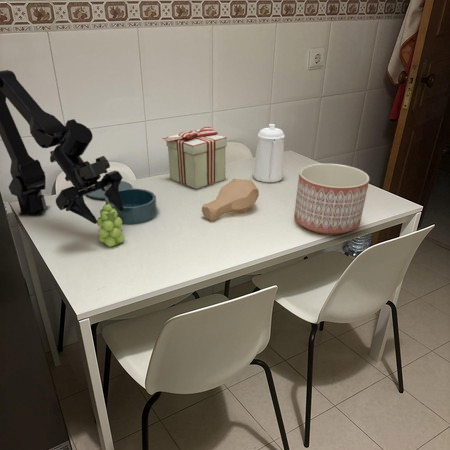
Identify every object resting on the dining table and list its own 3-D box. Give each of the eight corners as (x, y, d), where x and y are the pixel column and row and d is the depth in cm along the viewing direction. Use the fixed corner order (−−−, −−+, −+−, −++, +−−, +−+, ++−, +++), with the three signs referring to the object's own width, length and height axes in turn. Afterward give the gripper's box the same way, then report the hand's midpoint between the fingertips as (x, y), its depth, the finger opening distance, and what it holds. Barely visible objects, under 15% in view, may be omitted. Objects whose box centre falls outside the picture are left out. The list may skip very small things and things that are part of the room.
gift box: (192, 167, 171) (190, 120, 161) (228, 179, 161) (229, 129, 151) (158, 178, 160) (155, 128, 150) (195, 192, 151) (194, 140, 141)
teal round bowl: (103, 224, 130) (101, 207, 127) (112, 203, 142) (110, 188, 139) (154, 224, 130) (153, 207, 127) (158, 203, 142) (157, 188, 139)
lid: (80, 200, 143) (77, 184, 140) (90, 182, 156) (87, 167, 153) (129, 200, 144) (127, 184, 141) (135, 183, 156) (133, 168, 153)
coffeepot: (254, 191, 153) (257, 134, 142) (251, 166, 173) (254, 115, 162) (286, 192, 153) (292, 135, 142) (279, 167, 173) (284, 116, 162)
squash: (264, 207, 142) (268, 183, 135) (218, 234, 132) (219, 209, 125) (240, 192, 147) (242, 168, 140) (194, 216, 137) (194, 191, 130)
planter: (281, 215, 137) (286, 167, 128) (333, 206, 144) (341, 160, 135) (317, 243, 123) (325, 191, 114) (372, 231, 129) (384, 181, 121)
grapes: (97, 248, 118) (90, 204, 111) (102, 236, 123) (95, 194, 116) (122, 248, 118) (117, 204, 111) (126, 236, 124) (121, 194, 116)
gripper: (53, 157, 103) (94, 214, 104) (113, 139, 115) (148, 189, 117) (39, 183, 111) (77, 235, 112) (96, 163, 123) (130, 210, 125)
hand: (109, 216), depth 116 cm, fingers open, 9 cm apart
